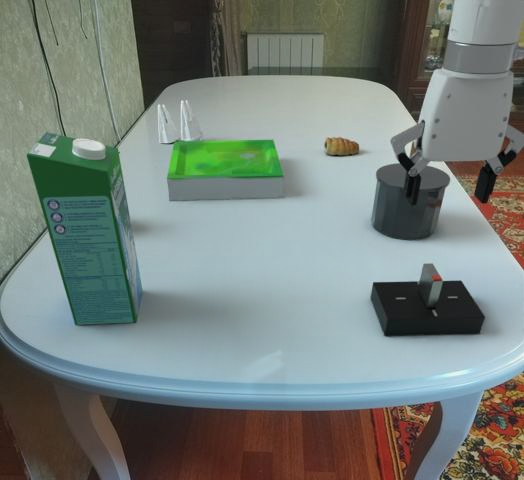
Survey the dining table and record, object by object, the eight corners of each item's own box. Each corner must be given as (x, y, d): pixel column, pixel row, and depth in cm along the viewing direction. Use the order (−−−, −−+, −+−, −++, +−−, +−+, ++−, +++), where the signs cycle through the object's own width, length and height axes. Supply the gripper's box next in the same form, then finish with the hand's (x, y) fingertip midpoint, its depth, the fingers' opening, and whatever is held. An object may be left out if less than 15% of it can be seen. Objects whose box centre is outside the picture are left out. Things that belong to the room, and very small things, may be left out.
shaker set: (203, 141, 143) (200, 98, 136) (200, 146, 140) (197, 102, 133) (163, 139, 145) (158, 97, 138) (158, 144, 142) (153, 101, 135)
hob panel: (456, 296, 81) (461, 279, 79) (480, 333, 73) (486, 316, 71) (370, 298, 81) (373, 281, 79) (384, 336, 73) (387, 318, 71)
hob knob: (417, 289, 77) (423, 261, 74) (426, 289, 77) (433, 261, 74) (426, 307, 73) (433, 279, 70) (436, 307, 73) (443, 279, 70)
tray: (176, 161, 130) (174, 141, 127) (273, 159, 131) (273, 139, 128) (169, 200, 111) (166, 178, 108) (283, 197, 112) (283, 175, 109)
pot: (425, 211, 106) (435, 166, 100) (444, 239, 97) (456, 190, 91) (365, 212, 106) (372, 167, 100) (378, 240, 96) (386, 191, 90)
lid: (436, 168, 101) (444, 130, 97) (459, 195, 91) (469, 154, 86) (368, 169, 101) (373, 131, 96) (383, 196, 90) (390, 155, 86)
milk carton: (136, 322, 76) (103, 151, 60) (74, 325, 75) (25, 153, 59) (142, 290, 82) (114, 129, 67) (86, 292, 82) (44, 130, 66)
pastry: (356, 148, 139) (357, 133, 136) (361, 156, 133) (362, 141, 131) (322, 148, 138) (323, 134, 136) (325, 157, 133) (327, 142, 131)
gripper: (536, 51, 62) (496, 188, 72) (395, 54, 61) (376, 191, 72) (567, 63, 56) (519, 210, 67) (412, 66, 55) (389, 214, 66)
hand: (445, 200), depth 69 cm, fingers open, 9 cm apart
